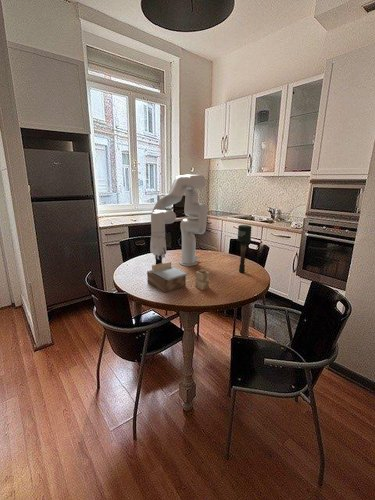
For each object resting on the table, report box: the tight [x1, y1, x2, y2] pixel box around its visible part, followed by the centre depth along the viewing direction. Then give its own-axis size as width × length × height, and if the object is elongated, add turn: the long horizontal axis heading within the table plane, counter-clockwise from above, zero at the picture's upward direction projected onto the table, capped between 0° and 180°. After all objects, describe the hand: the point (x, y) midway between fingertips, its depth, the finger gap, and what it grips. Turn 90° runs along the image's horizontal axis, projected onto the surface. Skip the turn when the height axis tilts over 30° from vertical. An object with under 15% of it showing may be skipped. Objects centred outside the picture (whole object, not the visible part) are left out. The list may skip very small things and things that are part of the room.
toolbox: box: [146, 270, 187, 294], centre depth 140 cm, size 14×17×7 cm
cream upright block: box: [195, 268, 210, 291], centre depth 137 cm, size 5×5×10 cm
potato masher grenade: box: [236, 224, 253, 274], centre depth 157 cm, size 8×9×30 cm
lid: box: [150, 260, 188, 281], centre depth 137 cm, size 13×16×4 cm
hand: (158, 265), depth 144 cm, fingers closed
